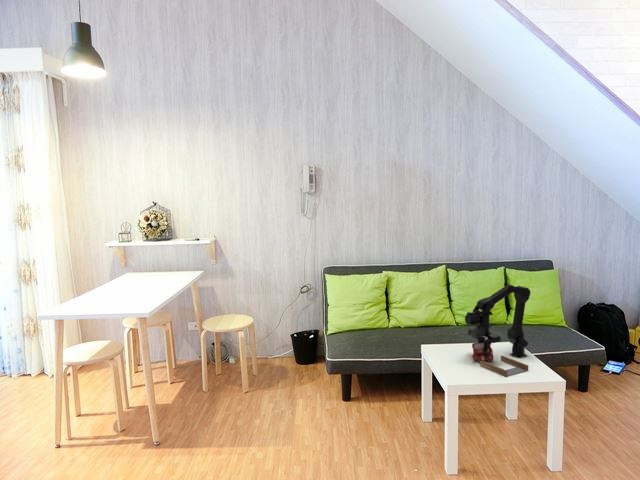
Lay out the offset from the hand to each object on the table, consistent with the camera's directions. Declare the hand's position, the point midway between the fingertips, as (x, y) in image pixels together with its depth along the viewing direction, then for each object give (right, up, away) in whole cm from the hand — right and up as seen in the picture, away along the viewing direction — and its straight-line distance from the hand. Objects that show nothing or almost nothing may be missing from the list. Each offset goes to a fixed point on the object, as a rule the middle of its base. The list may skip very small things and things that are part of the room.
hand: (484, 350), depth 249 cm
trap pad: (+9, -7, -17) cm, 20 cm away
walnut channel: (+6, -7, -12) cm, 15 cm away
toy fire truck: (0, -6, 0) cm, 6 cm away
